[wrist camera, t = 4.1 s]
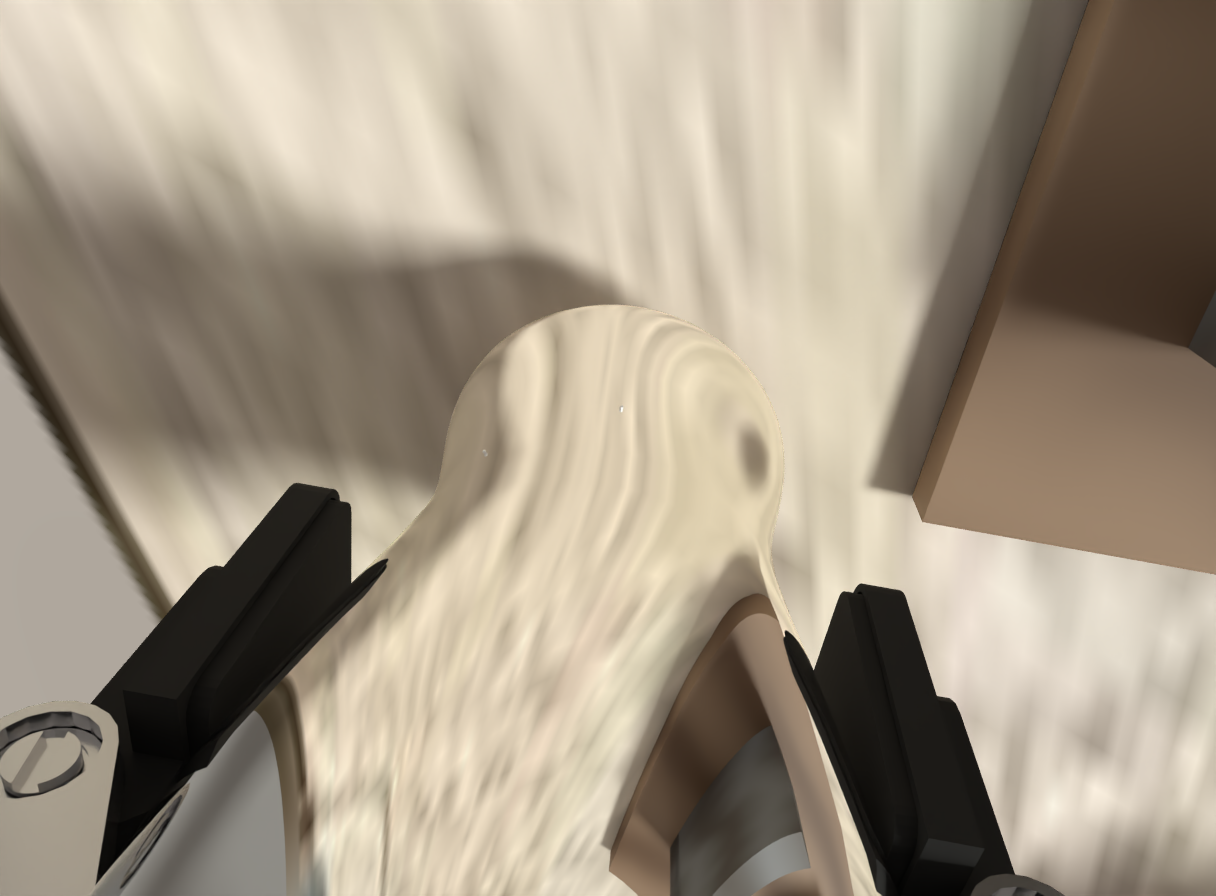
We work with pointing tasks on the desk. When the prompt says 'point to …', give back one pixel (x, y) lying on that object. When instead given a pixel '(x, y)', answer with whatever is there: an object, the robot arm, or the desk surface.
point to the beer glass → (546, 665)
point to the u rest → (1101, 312)
